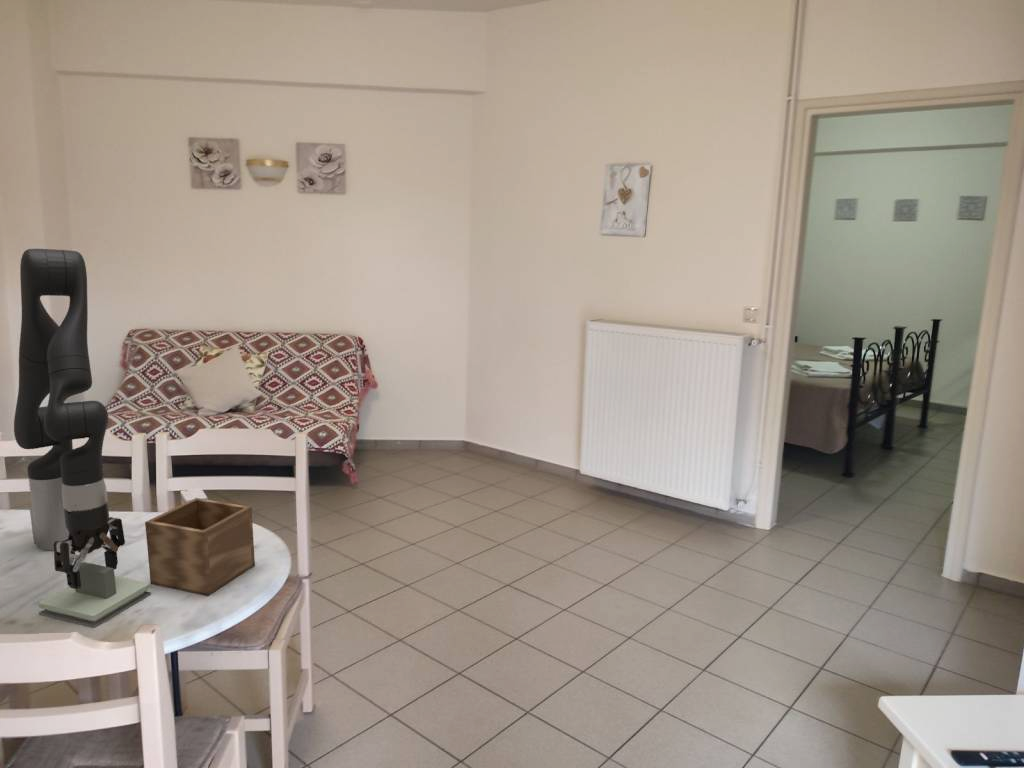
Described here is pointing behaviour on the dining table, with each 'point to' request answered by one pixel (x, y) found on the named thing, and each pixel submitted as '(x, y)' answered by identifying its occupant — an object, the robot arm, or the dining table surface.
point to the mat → (91, 623)
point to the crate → (200, 545)
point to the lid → (95, 594)
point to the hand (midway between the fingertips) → (93, 578)
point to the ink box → (192, 495)
